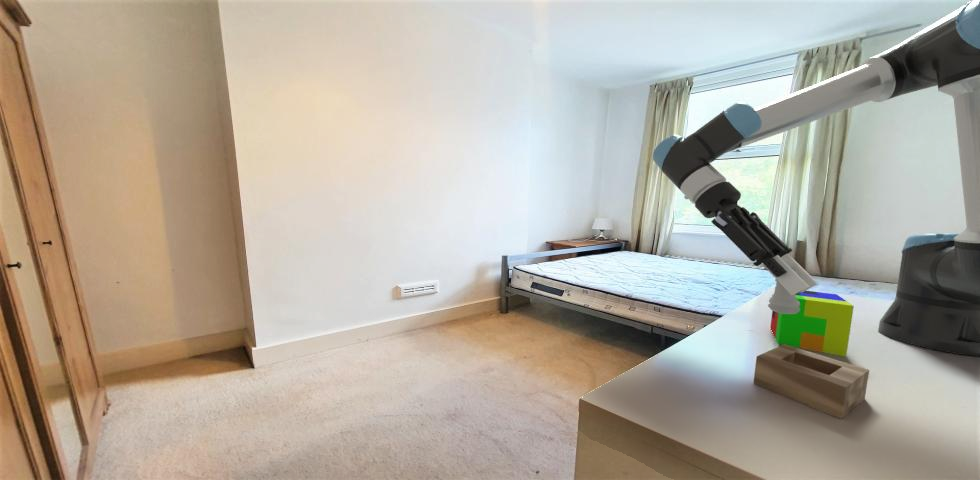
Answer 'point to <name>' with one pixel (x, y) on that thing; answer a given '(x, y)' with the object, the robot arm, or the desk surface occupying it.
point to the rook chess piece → (784, 300)
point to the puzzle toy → (815, 323)
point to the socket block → (812, 379)
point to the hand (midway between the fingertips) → (805, 289)
